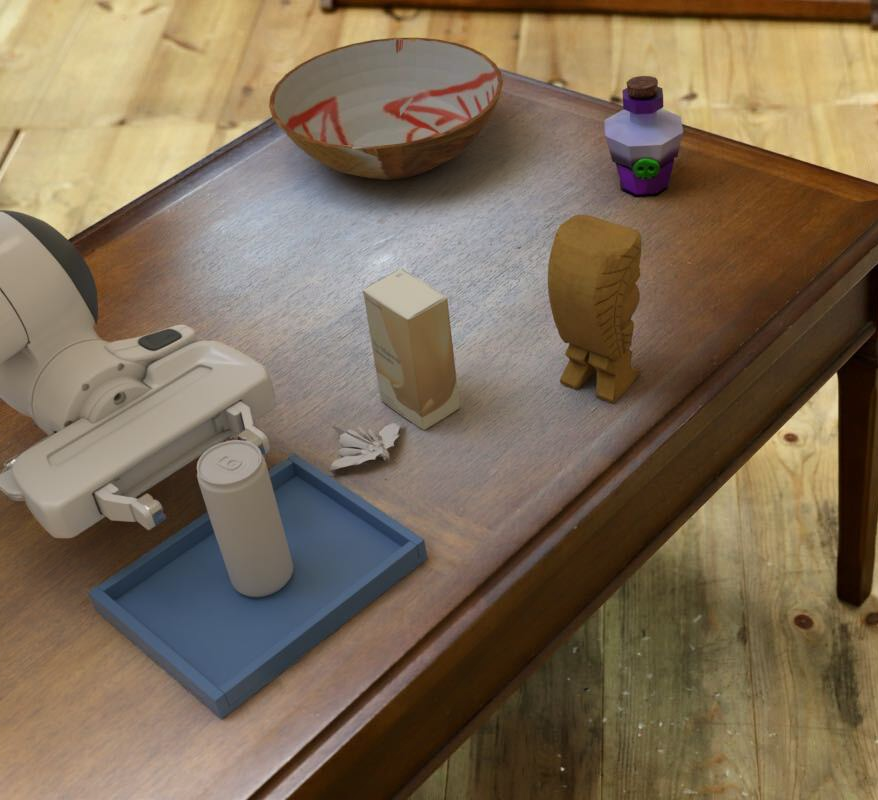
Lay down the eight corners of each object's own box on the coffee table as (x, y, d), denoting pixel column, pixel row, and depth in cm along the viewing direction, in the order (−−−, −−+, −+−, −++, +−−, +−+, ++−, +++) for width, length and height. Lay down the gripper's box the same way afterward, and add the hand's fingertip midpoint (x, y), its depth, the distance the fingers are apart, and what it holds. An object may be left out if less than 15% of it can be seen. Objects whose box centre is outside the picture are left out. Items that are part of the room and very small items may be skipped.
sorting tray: (221, 719, 95) (215, 700, 94) (95, 610, 103) (87, 592, 102) (428, 558, 106) (424, 539, 105) (299, 471, 114) (294, 452, 113)
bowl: (267, 221, 144) (251, 154, 139) (299, 105, 163) (286, 42, 158) (507, 208, 144) (500, 141, 139) (511, 93, 163) (505, 30, 158)
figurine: (651, 373, 122) (647, 231, 113) (612, 415, 118) (605, 272, 108) (584, 349, 125) (576, 209, 116) (544, 390, 121) (531, 248, 111)
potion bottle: (624, 213, 142) (621, 109, 135) (591, 174, 148) (586, 72, 141) (699, 192, 145) (700, 89, 137) (663, 155, 151) (662, 54, 143)
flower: (299, 463, 117) (290, 437, 115) (370, 415, 121) (362, 389, 120) (354, 491, 112) (345, 464, 110) (426, 440, 116) (419, 413, 115)
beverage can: (265, 610, 102) (230, 494, 94) (217, 586, 104) (179, 470, 96) (308, 568, 105) (278, 452, 97) (260, 545, 107) (227, 430, 99)
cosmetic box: (378, 401, 121) (357, 287, 113) (417, 377, 123) (398, 264, 115) (425, 433, 117) (406, 318, 109) (464, 409, 120) (448, 294, 112)
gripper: (-30, 445, 100) (74, 531, 93) (200, 313, 112) (309, 381, 105) (-2, 507, 105) (99, 594, 97) (217, 373, 116) (323, 442, 109)
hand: (210, 482), depth 101 cm, fingers open, 8 cm apart
